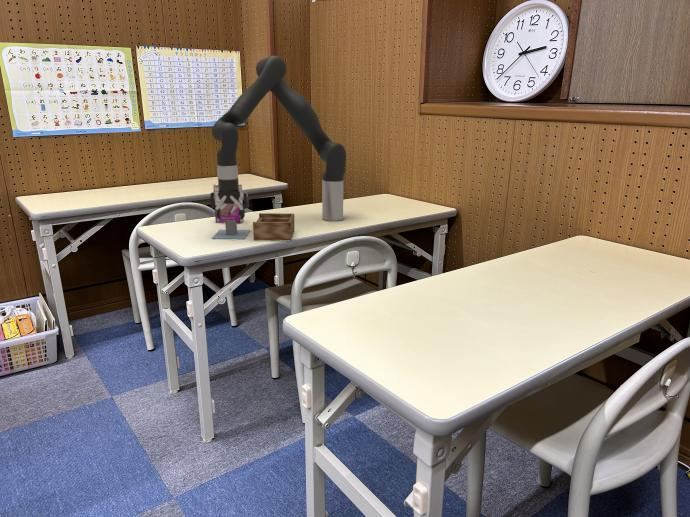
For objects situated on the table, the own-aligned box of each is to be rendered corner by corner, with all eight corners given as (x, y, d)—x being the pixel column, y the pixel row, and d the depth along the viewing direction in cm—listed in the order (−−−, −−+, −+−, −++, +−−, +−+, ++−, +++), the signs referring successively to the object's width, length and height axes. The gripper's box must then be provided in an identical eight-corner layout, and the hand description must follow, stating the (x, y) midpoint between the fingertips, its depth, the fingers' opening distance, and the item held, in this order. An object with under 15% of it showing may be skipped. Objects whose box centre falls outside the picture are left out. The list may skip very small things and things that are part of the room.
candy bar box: (215, 223, 213) (212, 184, 207) (219, 220, 217) (216, 182, 212) (240, 224, 212) (238, 185, 206) (244, 221, 216) (242, 183, 211)
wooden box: (294, 230, 203) (294, 213, 200) (290, 240, 188) (290, 222, 186) (260, 230, 203) (259, 213, 200) (253, 240, 188) (252, 222, 186)
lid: (250, 232, 201) (249, 217, 200) (244, 240, 190) (243, 225, 188) (219, 231, 201) (218, 217, 200) (211, 240, 190) (210, 225, 188)
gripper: (248, 175, 192) (250, 216, 197) (211, 175, 192) (214, 216, 197) (245, 178, 185) (247, 221, 190) (206, 178, 185) (210, 221, 190)
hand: (230, 218), depth 193 cm, fingers open, 8 cm apart
